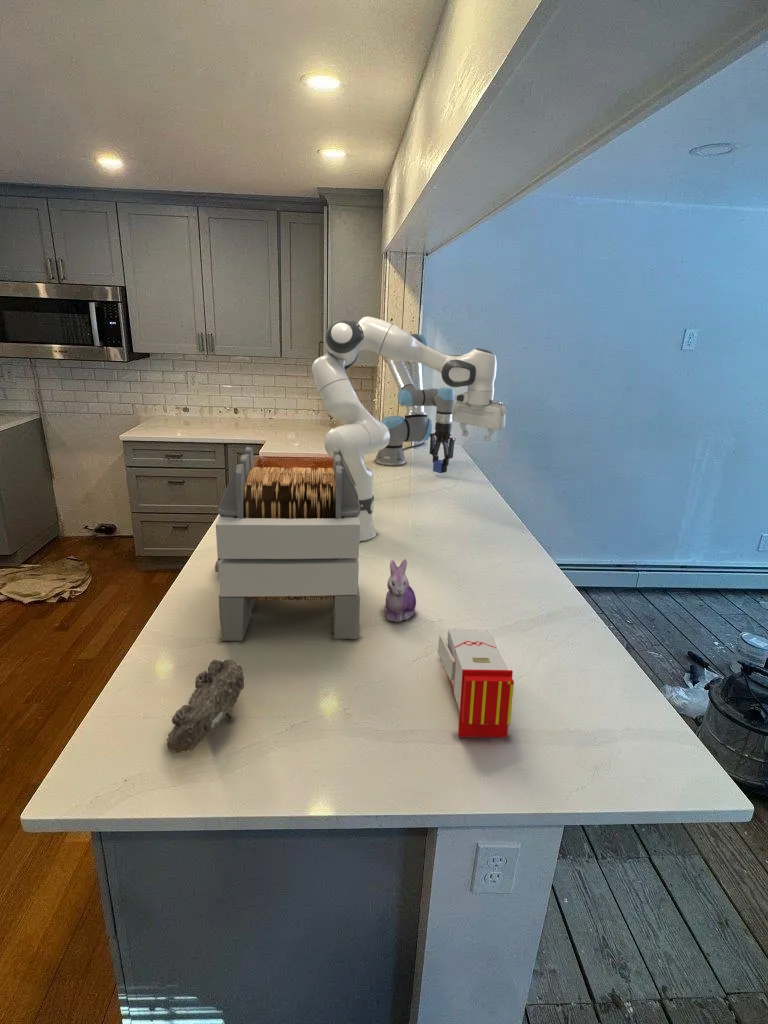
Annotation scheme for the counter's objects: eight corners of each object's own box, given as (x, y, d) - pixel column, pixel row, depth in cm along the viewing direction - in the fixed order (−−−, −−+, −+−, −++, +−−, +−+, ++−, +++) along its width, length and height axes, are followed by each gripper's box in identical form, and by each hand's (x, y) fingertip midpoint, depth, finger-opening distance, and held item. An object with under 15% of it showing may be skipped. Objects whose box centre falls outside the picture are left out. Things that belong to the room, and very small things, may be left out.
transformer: (238, 577, 163) (231, 438, 149) (351, 576, 167) (355, 440, 153) (218, 643, 131) (207, 474, 117) (359, 640, 135) (365, 475, 121)
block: (440, 473, 266) (441, 463, 264) (432, 471, 269) (433, 461, 267) (446, 471, 269) (447, 461, 268) (439, 469, 272) (439, 459, 271)
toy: (488, 613, 130) (523, 677, 101) (484, 667, 133) (517, 744, 104) (435, 612, 130) (455, 676, 101) (432, 666, 133) (451, 743, 103)
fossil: (192, 660, 117) (244, 628, 112) (224, 691, 120) (276, 661, 115) (142, 746, 98) (202, 712, 93) (182, 779, 101) (242, 748, 96)
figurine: (392, 627, 141) (395, 572, 136) (374, 608, 149) (376, 556, 144) (425, 619, 145) (429, 566, 140) (405, 601, 154) (408, 550, 149)
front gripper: (511, 401, 188) (506, 442, 193) (461, 393, 201) (458, 432, 206) (500, 403, 184) (496, 445, 188) (450, 395, 197) (447, 434, 202)
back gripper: (464, 424, 258) (459, 473, 266) (433, 418, 269) (430, 465, 277) (454, 426, 253) (449, 476, 261) (423, 420, 264) (420, 468, 272)
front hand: (475, 438), depth 197 cm, fingers open, 8 cm apart
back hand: (439, 470), depth 269 cm, fingers closed on block, 5 cm apart
